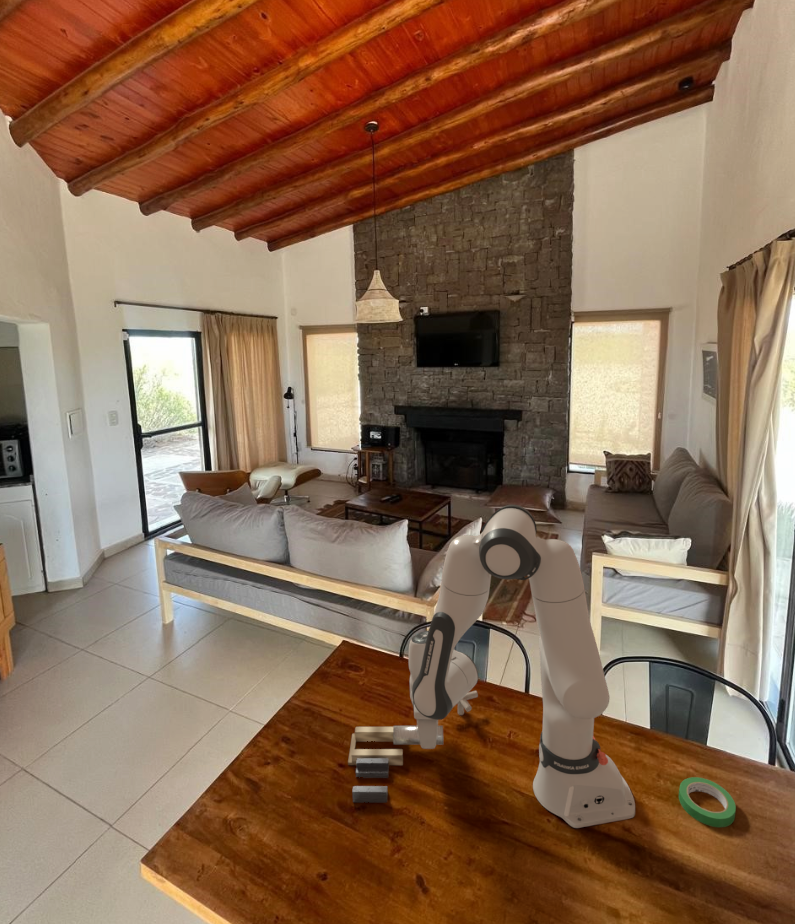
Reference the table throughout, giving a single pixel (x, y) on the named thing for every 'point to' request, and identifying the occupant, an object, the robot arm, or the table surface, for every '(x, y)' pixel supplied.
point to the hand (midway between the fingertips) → (428, 736)
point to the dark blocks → (371, 770)
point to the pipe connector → (466, 702)
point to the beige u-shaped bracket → (378, 736)
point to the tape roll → (702, 814)
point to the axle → (412, 735)
